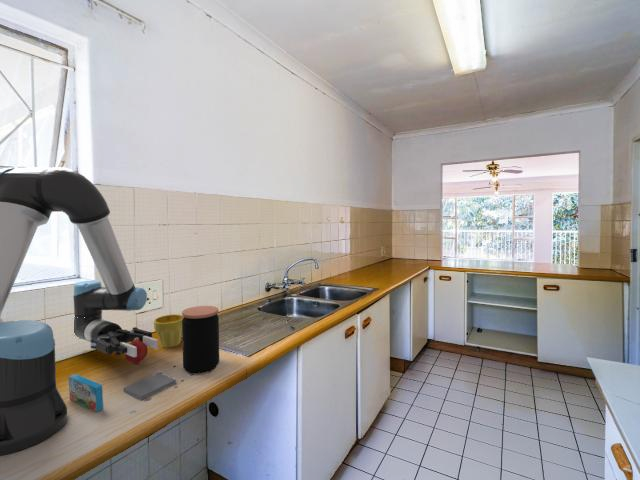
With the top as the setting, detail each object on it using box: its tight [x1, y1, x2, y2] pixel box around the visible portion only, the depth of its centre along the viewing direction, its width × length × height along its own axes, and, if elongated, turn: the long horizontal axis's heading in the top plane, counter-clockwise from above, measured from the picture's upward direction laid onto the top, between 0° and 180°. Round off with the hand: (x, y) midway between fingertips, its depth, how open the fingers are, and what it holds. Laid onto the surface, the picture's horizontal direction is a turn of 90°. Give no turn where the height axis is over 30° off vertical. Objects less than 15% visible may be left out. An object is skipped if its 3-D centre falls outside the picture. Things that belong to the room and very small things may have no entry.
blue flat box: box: [68, 373, 104, 413], centre depth 80 cm, size 12×2×6 cm, turn 63°
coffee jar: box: [181, 305, 220, 375], centre depth 100 cm, size 11×11×18 cm
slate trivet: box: [123, 372, 177, 401], centre depth 88 cm, size 10×8×1 cm
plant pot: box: [153, 313, 184, 349], centre depth 118 cm, size 10×10×10 cm
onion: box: [124, 337, 148, 366], centre depth 94 cm, size 6×6×8 cm
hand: (146, 348), depth 91 cm, fingers closed on onion, 6 cm apart
